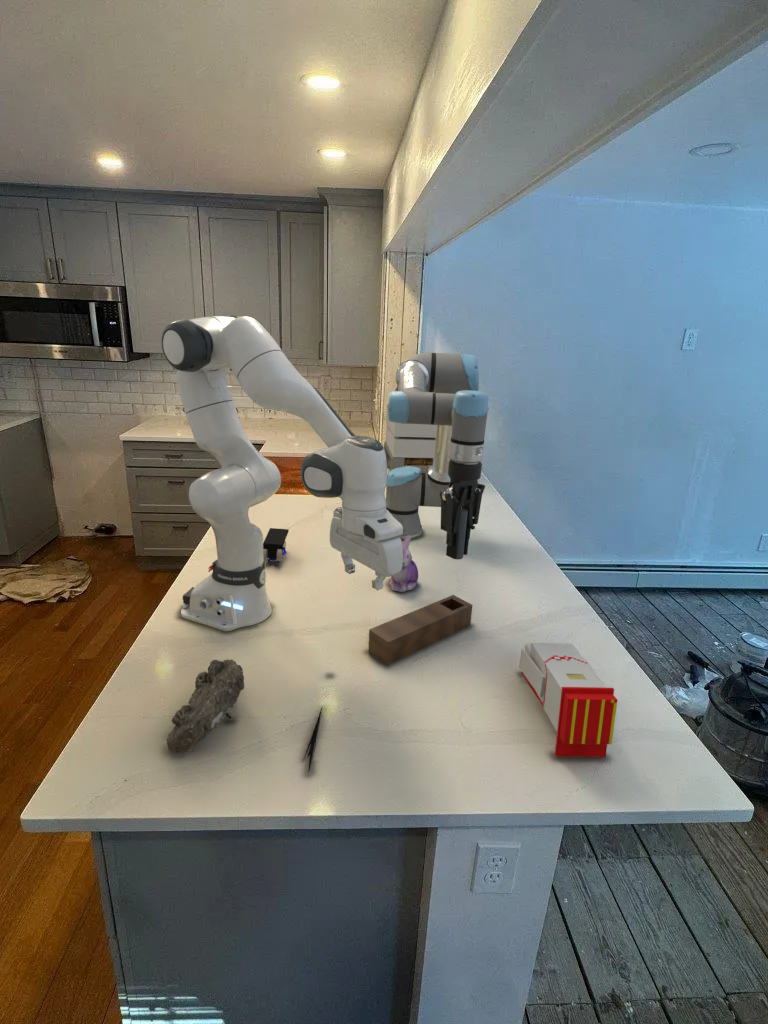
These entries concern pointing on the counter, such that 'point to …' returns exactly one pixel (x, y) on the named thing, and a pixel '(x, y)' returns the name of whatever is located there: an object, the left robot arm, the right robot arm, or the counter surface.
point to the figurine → (405, 571)
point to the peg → (461, 533)
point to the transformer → (409, 444)
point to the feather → (313, 740)
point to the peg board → (419, 629)
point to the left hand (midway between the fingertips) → (363, 580)
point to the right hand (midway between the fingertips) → (456, 554)
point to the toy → (570, 698)
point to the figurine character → (275, 545)
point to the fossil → (206, 705)
